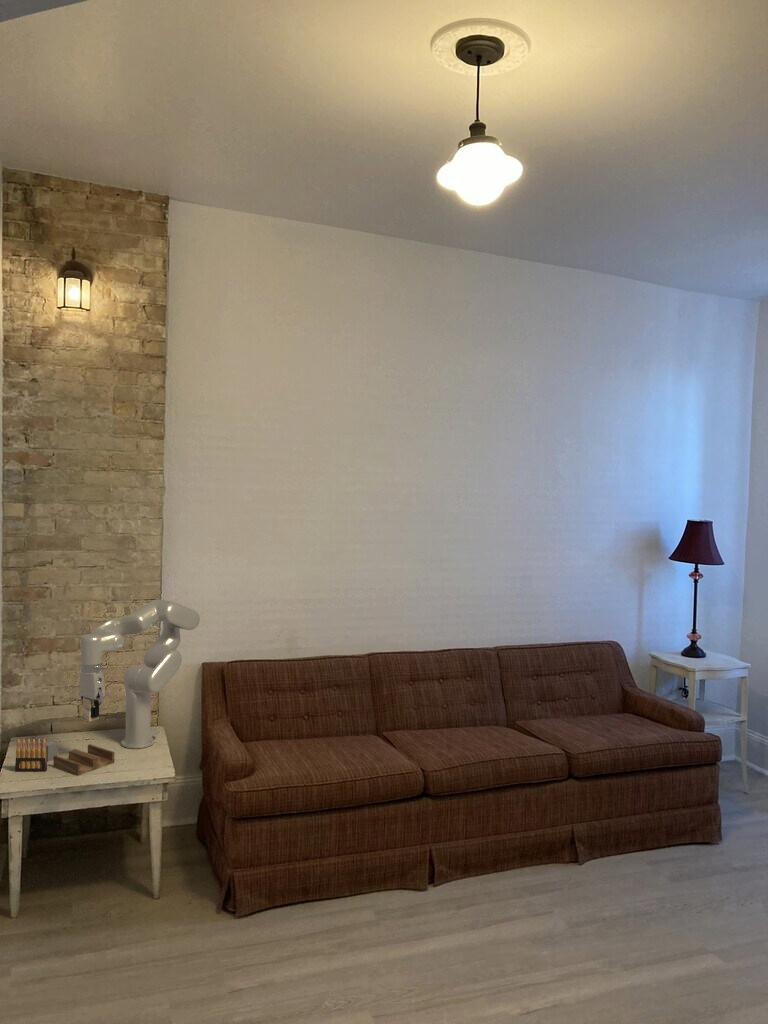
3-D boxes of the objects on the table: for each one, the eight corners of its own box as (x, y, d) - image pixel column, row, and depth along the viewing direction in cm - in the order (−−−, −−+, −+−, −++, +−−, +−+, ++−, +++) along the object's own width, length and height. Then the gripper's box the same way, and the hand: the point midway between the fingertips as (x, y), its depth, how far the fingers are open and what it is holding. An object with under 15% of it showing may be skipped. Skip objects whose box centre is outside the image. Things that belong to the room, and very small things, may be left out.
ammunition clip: (14, 771, 295) (15, 739, 294) (16, 770, 296) (16, 737, 296) (45, 771, 296) (46, 739, 295) (47, 769, 298) (47, 737, 297)
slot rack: (89, 754, 314) (89, 744, 314) (114, 762, 307) (114, 752, 306) (53, 766, 300) (53, 756, 300) (78, 775, 293) (78, 764, 293)
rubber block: (50, 756, 311) (50, 740, 310) (57, 758, 309) (57, 743, 308) (41, 759, 307) (41, 743, 307) (47, 761, 305) (47, 746, 305)
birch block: (92, 716, 310) (92, 695, 309) (98, 718, 308) (98, 697, 307) (82, 719, 307) (83, 698, 306) (89, 721, 304) (89, 700, 304)
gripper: (114, 669, 304) (113, 718, 305) (86, 662, 314) (86, 709, 315) (96, 673, 298) (96, 723, 299) (69, 665, 308) (68, 713, 309)
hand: (91, 715), depth 307 cm, fingers closed on birch block, 4 cm apart
